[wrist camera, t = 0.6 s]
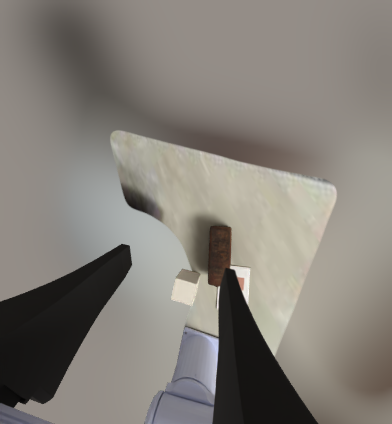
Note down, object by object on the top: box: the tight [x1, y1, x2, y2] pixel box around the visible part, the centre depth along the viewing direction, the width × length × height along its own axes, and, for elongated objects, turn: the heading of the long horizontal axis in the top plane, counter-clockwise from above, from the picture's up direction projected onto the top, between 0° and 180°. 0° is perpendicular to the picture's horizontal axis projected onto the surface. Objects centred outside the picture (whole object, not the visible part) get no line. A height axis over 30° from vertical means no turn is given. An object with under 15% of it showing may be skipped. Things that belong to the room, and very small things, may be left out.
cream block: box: [171, 269, 200, 306], centre depth 30 cm, size 4×4×5 cm
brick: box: [208, 226, 231, 287], centre depth 29 cm, size 11×4×5 cm, turn 178°
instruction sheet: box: [217, 265, 250, 309], centre depth 30 cm, size 9×6×1 cm, turn 176°
